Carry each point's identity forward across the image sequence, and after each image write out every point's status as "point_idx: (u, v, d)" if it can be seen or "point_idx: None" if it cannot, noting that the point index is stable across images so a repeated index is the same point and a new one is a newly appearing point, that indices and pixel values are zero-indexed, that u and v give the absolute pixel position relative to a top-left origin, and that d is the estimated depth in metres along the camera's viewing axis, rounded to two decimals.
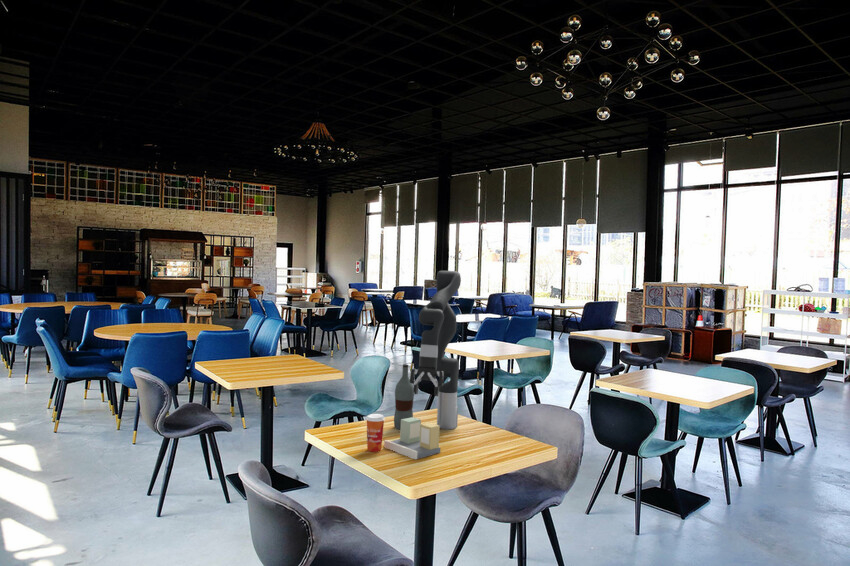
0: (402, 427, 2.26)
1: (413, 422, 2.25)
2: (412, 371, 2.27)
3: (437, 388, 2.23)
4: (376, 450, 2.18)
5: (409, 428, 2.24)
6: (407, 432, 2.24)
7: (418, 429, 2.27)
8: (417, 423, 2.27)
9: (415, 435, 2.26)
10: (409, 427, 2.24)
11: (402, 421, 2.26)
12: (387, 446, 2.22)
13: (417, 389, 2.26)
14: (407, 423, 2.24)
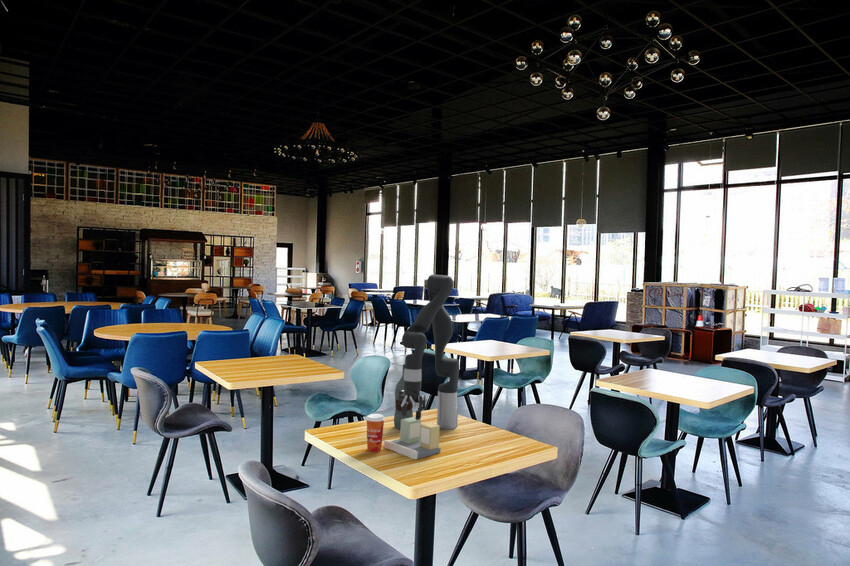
0: (402, 427, 2.26)
1: (413, 422, 2.25)
2: (400, 393, 2.31)
3: (418, 412, 2.24)
4: (376, 450, 2.18)
5: (409, 428, 2.24)
6: (407, 432, 2.24)
7: (418, 429, 2.27)
8: (417, 423, 2.27)
9: (415, 435, 2.26)
10: (409, 427, 2.24)
11: (402, 421, 2.26)
12: (387, 446, 2.22)
13: (405, 411, 2.31)
14: (407, 423, 2.24)
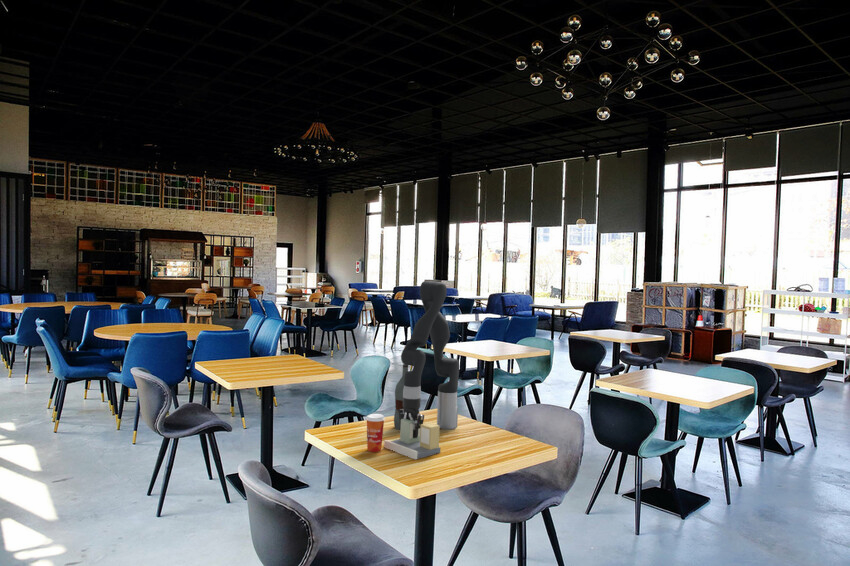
0: (402, 427, 2.26)
1: None
2: (399, 412, 2.31)
3: (415, 431, 2.25)
4: (376, 450, 2.18)
5: (409, 428, 2.24)
6: (407, 432, 2.24)
7: (418, 429, 2.27)
8: None
9: None
10: (409, 427, 2.24)
11: (402, 421, 2.26)
12: (387, 446, 2.22)
13: None
14: (407, 423, 2.24)
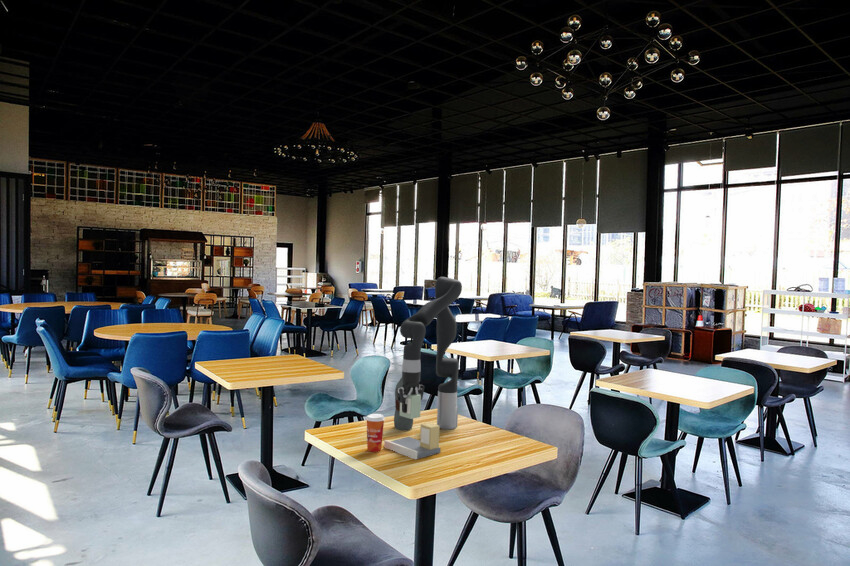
0: None
1: None
2: None
3: (402, 404, 2.18)
4: (376, 450, 2.18)
5: None
6: None
7: (408, 405, 2.16)
8: (408, 398, 2.17)
9: None
10: None
11: None
12: (387, 446, 2.22)
13: None
14: None
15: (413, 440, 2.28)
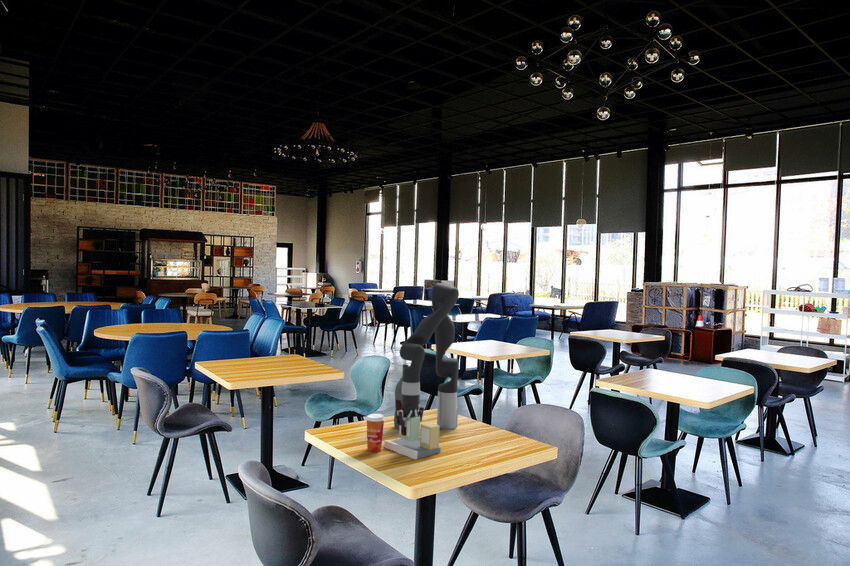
0: None
1: None
2: None
3: (401, 427, 2.18)
4: (376, 450, 2.18)
5: None
6: None
7: (408, 428, 2.16)
8: (407, 421, 2.17)
9: None
10: None
11: None
12: (387, 446, 2.22)
13: None
14: None
15: None
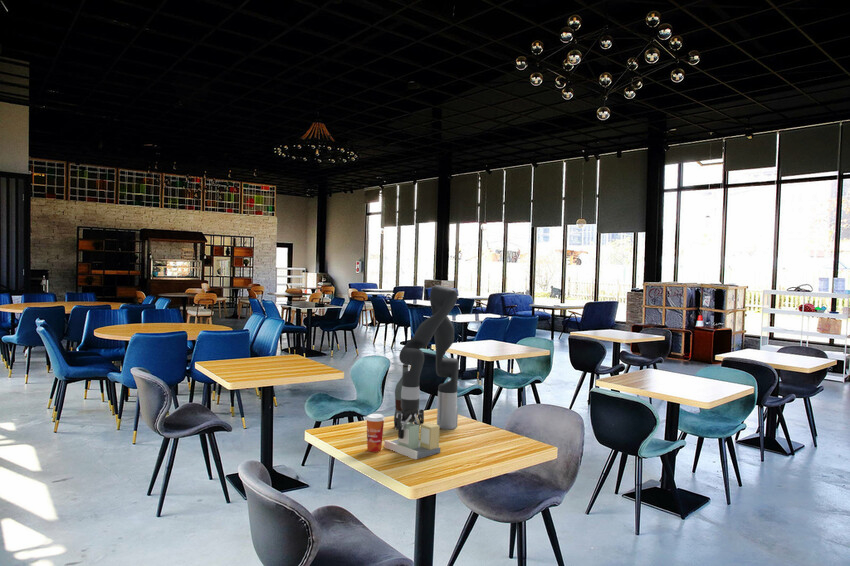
0: None
1: None
2: None
3: (398, 430, 2.17)
4: (376, 450, 2.18)
5: None
6: None
7: (407, 436, 2.16)
8: (406, 429, 2.17)
9: (404, 441, 2.18)
10: None
11: None
12: (387, 446, 2.22)
13: None
14: None
15: None
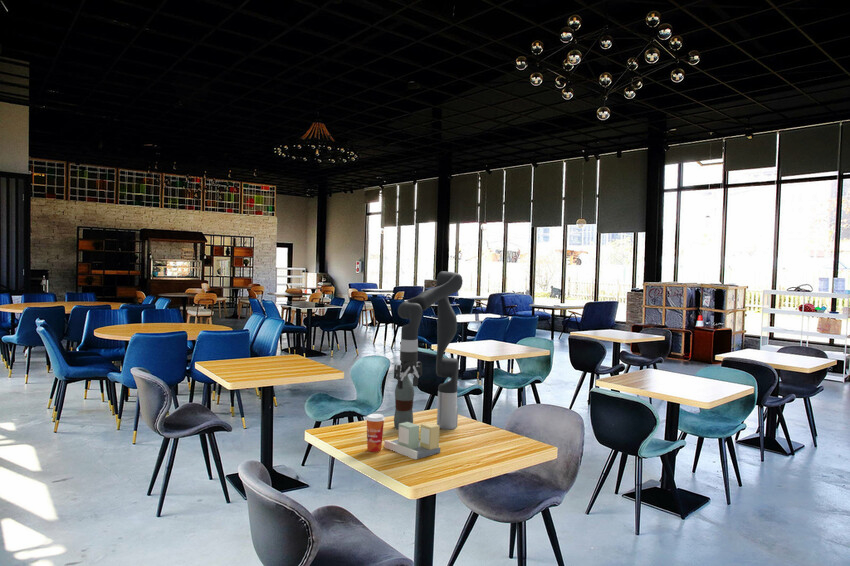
0: None
1: (402, 426, 2.19)
2: None
3: None
4: (376, 450, 2.18)
5: (399, 430, 2.20)
6: None
7: (407, 436, 2.16)
8: (406, 429, 2.17)
9: (404, 441, 2.18)
10: (399, 429, 2.20)
11: None
12: (387, 446, 2.22)
13: (415, 382, 2.31)
14: None
15: None
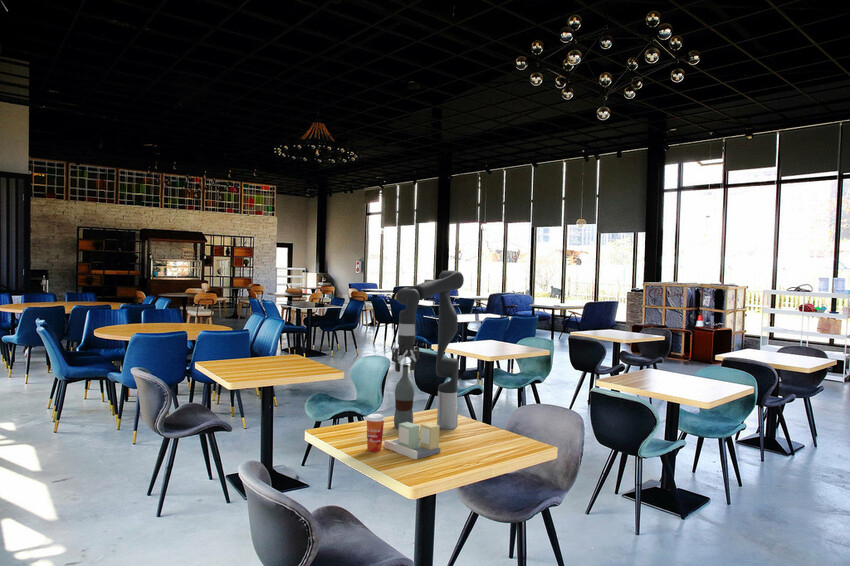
0: None
1: (402, 426, 2.19)
2: None
3: (395, 364, 2.33)
4: (376, 450, 2.18)
5: (399, 430, 2.20)
6: None
7: (407, 436, 2.16)
8: (406, 429, 2.17)
9: (404, 441, 2.18)
10: (399, 429, 2.20)
11: None
12: (387, 446, 2.22)
13: (412, 365, 2.39)
14: None
15: None
